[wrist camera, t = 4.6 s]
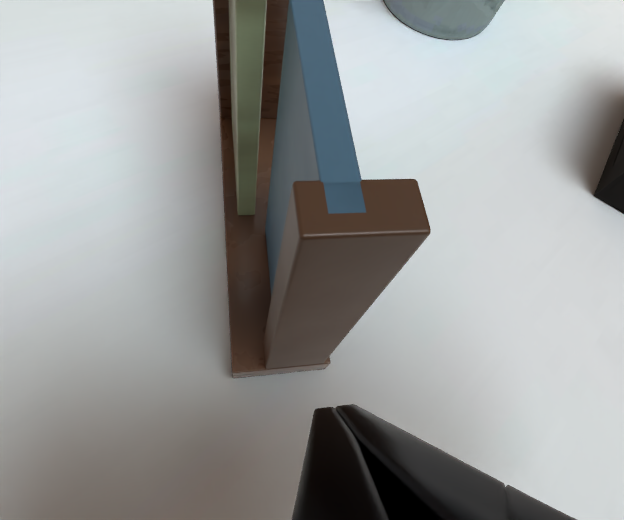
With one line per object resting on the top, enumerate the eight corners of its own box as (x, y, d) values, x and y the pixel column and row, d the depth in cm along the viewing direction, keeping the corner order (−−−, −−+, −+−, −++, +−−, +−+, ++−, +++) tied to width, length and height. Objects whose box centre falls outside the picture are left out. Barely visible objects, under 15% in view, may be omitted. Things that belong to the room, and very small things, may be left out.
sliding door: (324, 363, 17) (433, 232, 7) (265, 369, 17) (299, 238, 7) (305, 227, 20) (368, -2, 10) (254, 229, 19) (267, -9, 10)
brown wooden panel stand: (325, 369, 18) (473, 204, 7) (232, 378, 18) (216, 211, 6) (291, 123, 24) (339, -197, 12) (220, 122, 23) (199, -219, 12)
